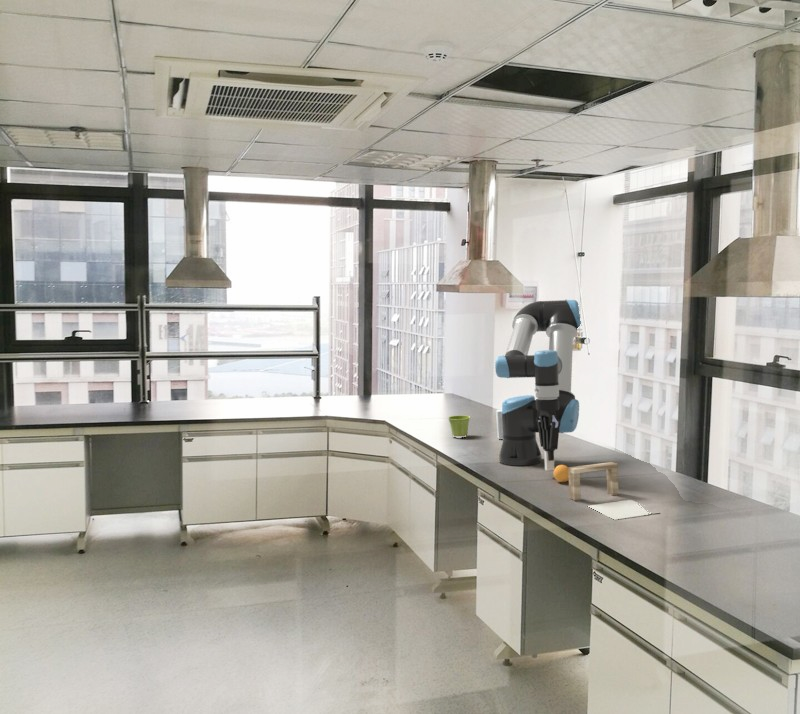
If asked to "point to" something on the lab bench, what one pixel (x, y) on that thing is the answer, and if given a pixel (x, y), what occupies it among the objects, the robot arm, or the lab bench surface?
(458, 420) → the plant pot
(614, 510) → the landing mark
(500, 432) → the skincare box
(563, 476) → the ball
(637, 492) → the lab bench surface
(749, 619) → the lab bench surface
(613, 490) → the bridge
